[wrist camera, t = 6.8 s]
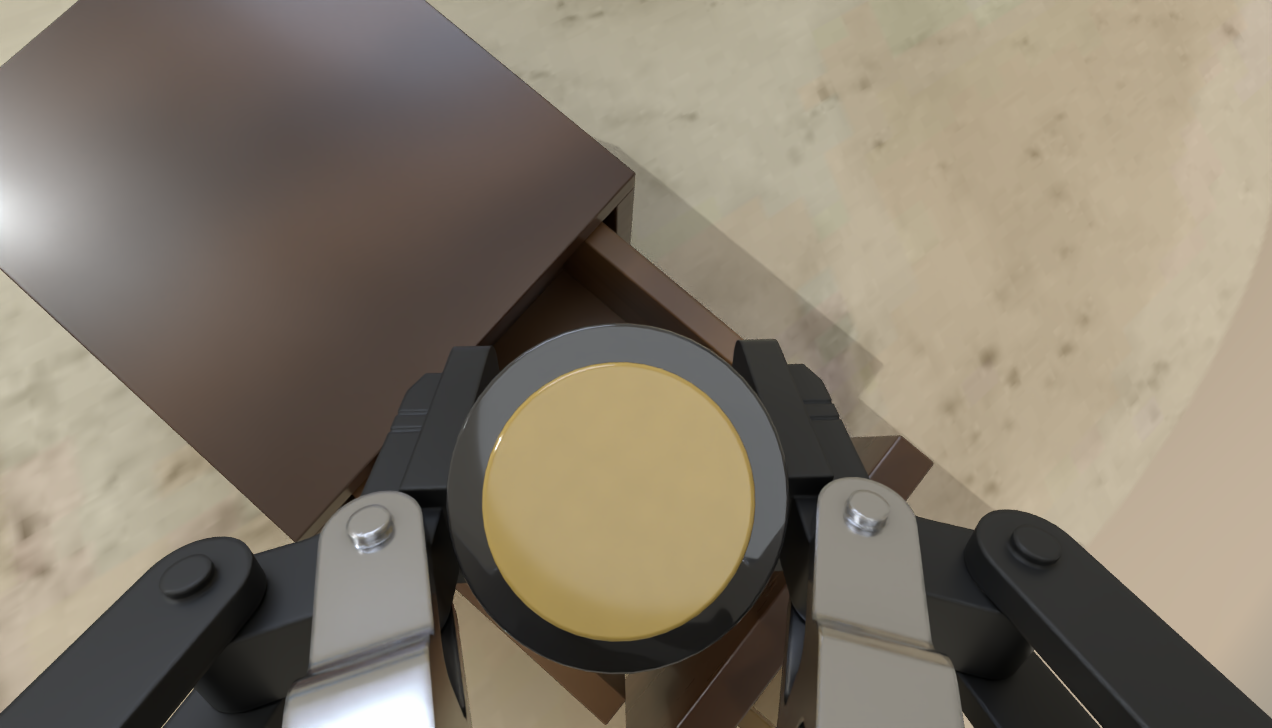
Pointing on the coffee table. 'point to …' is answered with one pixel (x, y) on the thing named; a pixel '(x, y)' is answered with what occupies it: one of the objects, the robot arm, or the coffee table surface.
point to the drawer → (753, 650)
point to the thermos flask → (617, 498)
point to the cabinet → (285, 217)
